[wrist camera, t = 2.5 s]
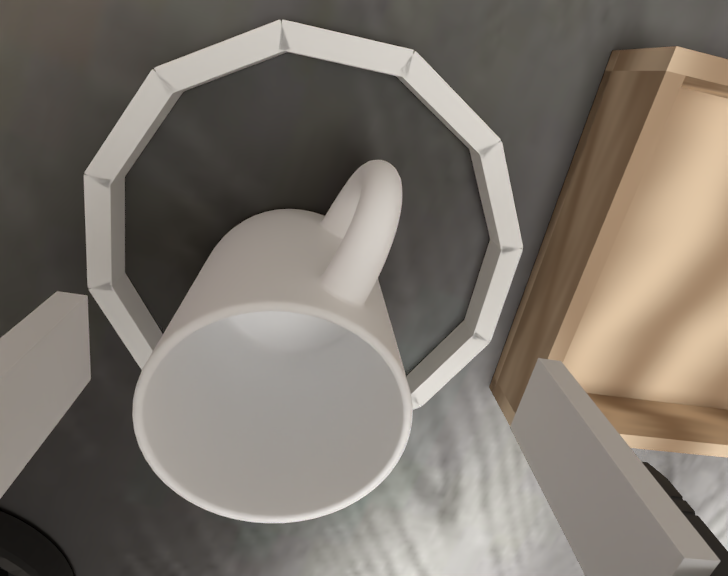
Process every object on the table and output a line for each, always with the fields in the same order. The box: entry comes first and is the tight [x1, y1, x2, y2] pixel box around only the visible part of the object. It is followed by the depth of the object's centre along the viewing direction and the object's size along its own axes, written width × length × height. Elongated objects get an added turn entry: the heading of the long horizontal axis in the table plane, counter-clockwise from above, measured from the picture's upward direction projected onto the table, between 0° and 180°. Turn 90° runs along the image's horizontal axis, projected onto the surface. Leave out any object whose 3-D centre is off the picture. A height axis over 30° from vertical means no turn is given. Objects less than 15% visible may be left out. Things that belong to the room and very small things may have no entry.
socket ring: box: [84, 19, 523, 409], centre depth 22 cm, size 19×19×2 cm
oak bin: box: [489, 46, 728, 458], centre depth 23 cm, size 18×18×4 cm
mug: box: [132, 160, 413, 523], centre depth 18 cm, size 12×8×10 cm
